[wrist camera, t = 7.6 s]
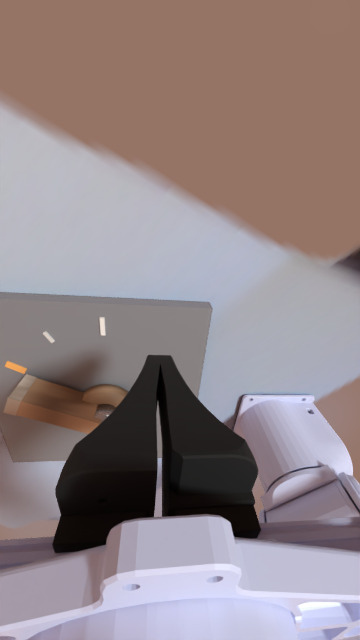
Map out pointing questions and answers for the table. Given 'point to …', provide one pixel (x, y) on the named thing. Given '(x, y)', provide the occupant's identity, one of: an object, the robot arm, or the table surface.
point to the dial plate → (89, 354)
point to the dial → (64, 403)
